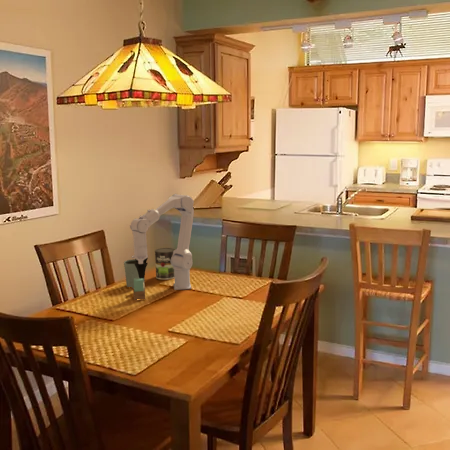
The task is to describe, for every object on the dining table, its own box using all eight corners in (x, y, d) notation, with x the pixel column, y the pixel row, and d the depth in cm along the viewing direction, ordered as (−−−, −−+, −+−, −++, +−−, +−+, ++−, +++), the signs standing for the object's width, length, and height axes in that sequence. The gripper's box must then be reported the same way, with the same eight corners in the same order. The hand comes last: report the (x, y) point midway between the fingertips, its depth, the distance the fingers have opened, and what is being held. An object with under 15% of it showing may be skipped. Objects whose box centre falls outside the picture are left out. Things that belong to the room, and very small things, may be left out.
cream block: (134, 292, 254) (133, 282, 253) (142, 291, 256) (142, 281, 255) (136, 295, 251) (136, 284, 250) (145, 293, 252) (144, 283, 251)
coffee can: (173, 280, 273) (172, 252, 271) (153, 279, 275) (152, 252, 273) (178, 274, 283) (177, 247, 281) (159, 274, 285) (158, 247, 283)
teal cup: (121, 288, 262) (120, 263, 260) (130, 282, 272) (128, 258, 269) (141, 289, 260) (140, 264, 257) (149, 283, 269) (148, 259, 267)
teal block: (134, 289, 246) (133, 278, 246) (143, 288, 247) (142, 277, 246) (134, 291, 242) (133, 280, 242) (143, 291, 243) (142, 280, 242)
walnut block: (133, 297, 247) (133, 288, 247) (145, 296, 248) (144, 288, 248) (133, 300, 243) (133, 292, 242) (145, 300, 243) (144, 291, 243)
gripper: (131, 242, 248) (133, 272, 250) (130, 250, 234) (132, 280, 236) (147, 242, 249) (148, 271, 251) (147, 249, 234) (148, 279, 237)
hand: (141, 275), depth 244 cm, fingers open, 7 cm apart
